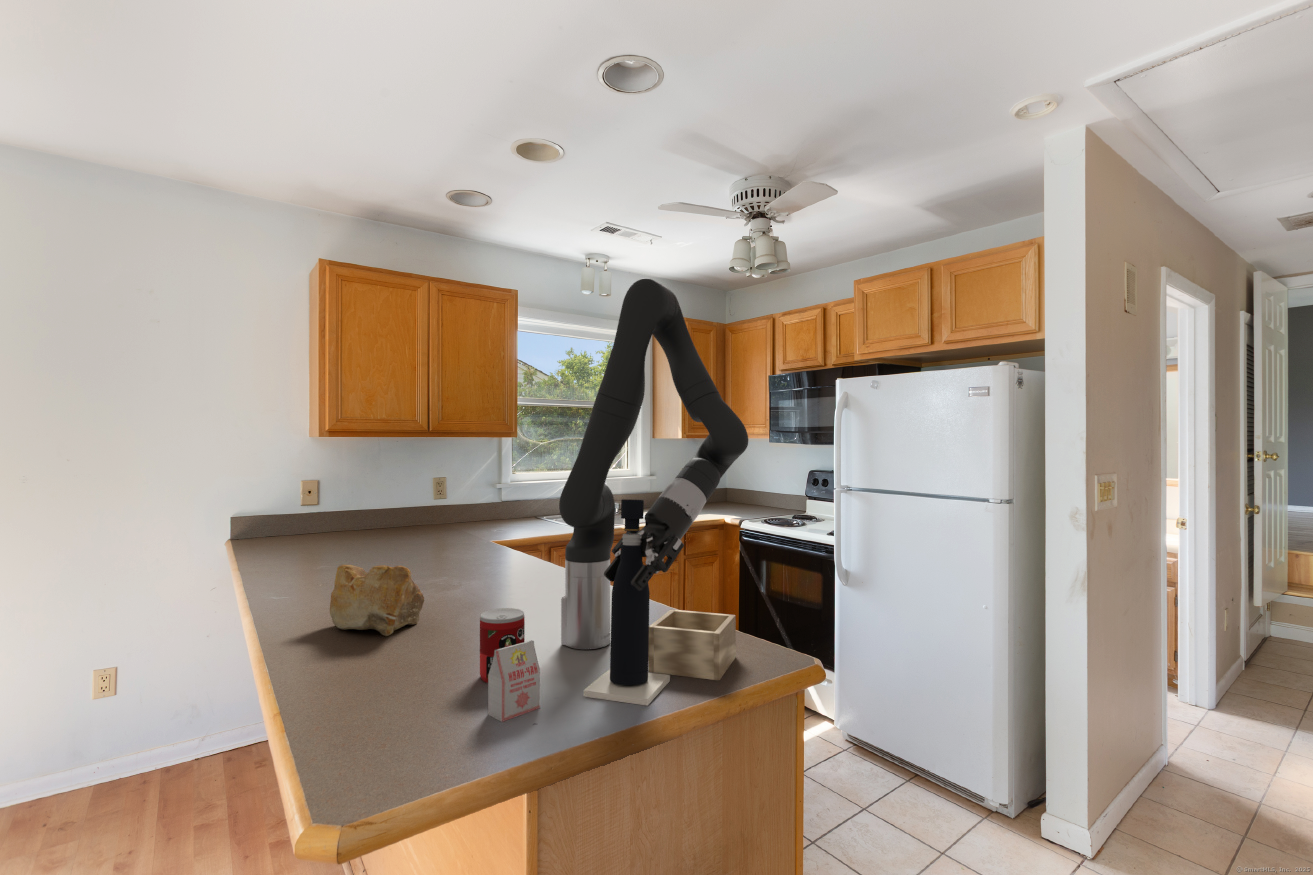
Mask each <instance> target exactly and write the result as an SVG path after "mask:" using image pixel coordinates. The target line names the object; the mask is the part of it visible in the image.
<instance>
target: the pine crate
mask: <svg viewBox="0 0 1313 875" xmlns="http://www.w3.org/2000/svg"><path fill="white" fill-rule="evenodd" d="M736 620H737V619H736V615H735V614H729V613H727V614H726V613H715V612H707V611H705V612H704V611H696V610H693V611H692V610H683V609H670V610H668V611H666V613H664V614H663V615H662V616H661V617H659V618H658V619H657V620H655V621H653V623H652V624H649V656H648V673H657V674H665V675H670V676H671V675H672V676H679V677H685V678H687V677H689V678H695V679H704V680H705V679H707V680H710V681H711V680H712V681H721V679H722V678H723V676H724V674H725V673H726V672H727V671H728V669H729V668H730V667H731V664H732V663H733V662H734V660H735V659H736V657H737V653H736V652H737V651H736V650H737V648H736V646H737V642H736V640H737V638H736V634H737V633H736V632H737V631H736V630H737V629H736V623H737V621H736Z"/></svg>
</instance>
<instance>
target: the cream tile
mask: <svg viewBox="0 0 1313 875" xmlns="http://www.w3.org/2000/svg"><path fill="white" fill-rule="evenodd" d="M670 678H671V675H670V674H662V673H654V672H648V681H647V682H646V683H643V684H640V685H631V686H630V685H619V684H615V683H613V682H611V681H610V668H609V669H608V670H607V671H605V672H604V673H603V674H601V675H600V676H599V677H598V678H596V679H595V680H594V681H593V682H592V683H591V684H589V685H588V686H587V687H586V688H585V689H583V697H584V698H592V699H598V700H606V701H614V702H621V703H628V704H633V705H642V706H647V707H648V706H649V705H650V704H651V702H652V701H653V700H654V699H655V698H656V697H657V696H658V695H659V693H660V692H661V691H662V690H663V689H664V688H665V687H666V686H667V685H668V684H669V682H670V681H671V679H670Z"/></svg>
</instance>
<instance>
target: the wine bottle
mask: <svg viewBox="0 0 1313 875" xmlns="http://www.w3.org/2000/svg"><path fill="white" fill-rule="evenodd" d="M644 501H645V500H644V499H627V498H626V499H621V500H620V502H621V503H620V519H624V532H627V531H629V532H637V531H640V530H641V529H640V520H644V516H645V514H644V508H645V506H644V505H645V502H644ZM621 538H623V541H622V542H623V545H621V548H620V550H621V552H620V564H619V566H618V569H617V572H616V575H615V579H614V581H613V584H612V589H611V603H610V631H611V634H610V651H609V655H610V656H609V658H610V659H609V669H610V681H611V682H613V683H615V684H619V685H630V686H631V685H640V684H643V683H646V682H647V681H648V673H649V661H648V656H649V626H650V595H651V593H650V586H649V582H648V583H647V584H646V586H645V587H644V588H643V589H642V590H641V591H639V590H636V589H635V588H634V587H633V586H632V585H631V581H632V579H633V578H634V577H635V575H636V574H637V573H638V571H639V570H640V569H641V567H642V566H643V565H644V563H643V557H642V551H641V548H642V545H641V538H642V537H641V534H626V533H623V534H622V536H621Z"/></svg>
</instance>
